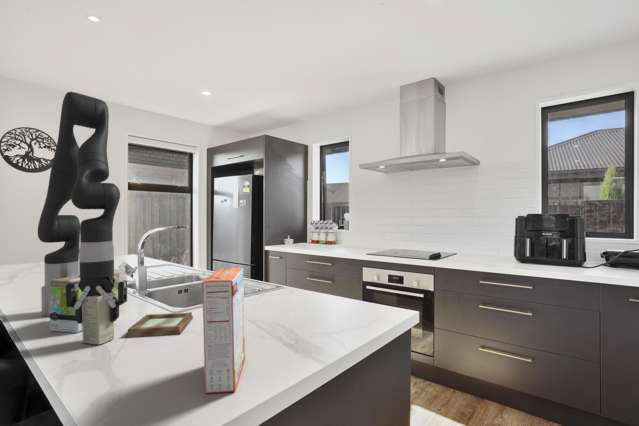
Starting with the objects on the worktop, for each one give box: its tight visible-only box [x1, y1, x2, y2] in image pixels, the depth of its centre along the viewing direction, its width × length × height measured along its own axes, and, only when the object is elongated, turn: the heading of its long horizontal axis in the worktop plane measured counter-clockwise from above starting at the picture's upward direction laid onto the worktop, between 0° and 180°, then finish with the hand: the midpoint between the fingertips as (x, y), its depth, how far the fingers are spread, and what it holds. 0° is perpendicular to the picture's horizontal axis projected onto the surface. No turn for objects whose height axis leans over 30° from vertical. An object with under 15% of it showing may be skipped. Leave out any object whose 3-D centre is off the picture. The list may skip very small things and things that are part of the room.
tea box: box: [49, 272, 120, 334], centre depth 101 cm, size 15×10×15 cm
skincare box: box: [81, 293, 115, 346], centre depth 87 cm, size 6×4×12 cm
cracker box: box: [201, 267, 246, 394], centre depth 68 cm, size 14×6×21 cm, turn 5°
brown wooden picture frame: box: [125, 311, 194, 338], centre depth 97 cm, size 14×14×2 cm
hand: (97, 321), depth 87 cm, fingers closed on skincare box, 7 cm apart
